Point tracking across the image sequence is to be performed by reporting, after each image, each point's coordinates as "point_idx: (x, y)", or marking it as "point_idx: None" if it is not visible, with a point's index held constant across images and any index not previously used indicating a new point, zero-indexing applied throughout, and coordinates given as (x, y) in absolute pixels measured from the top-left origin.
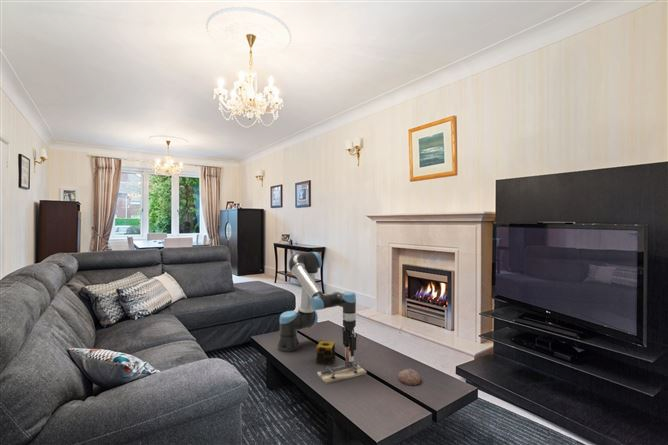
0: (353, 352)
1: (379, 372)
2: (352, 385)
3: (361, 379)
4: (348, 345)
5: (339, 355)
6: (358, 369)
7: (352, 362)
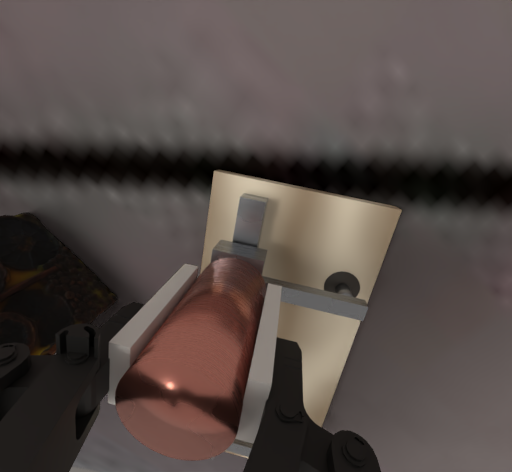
0: (300, 387)
1: (476, 90)
2: (431, 389)
3: (425, 299)
4: (95, 366)
5: (6, 156)
6: (322, 238)
7: (261, 273)
